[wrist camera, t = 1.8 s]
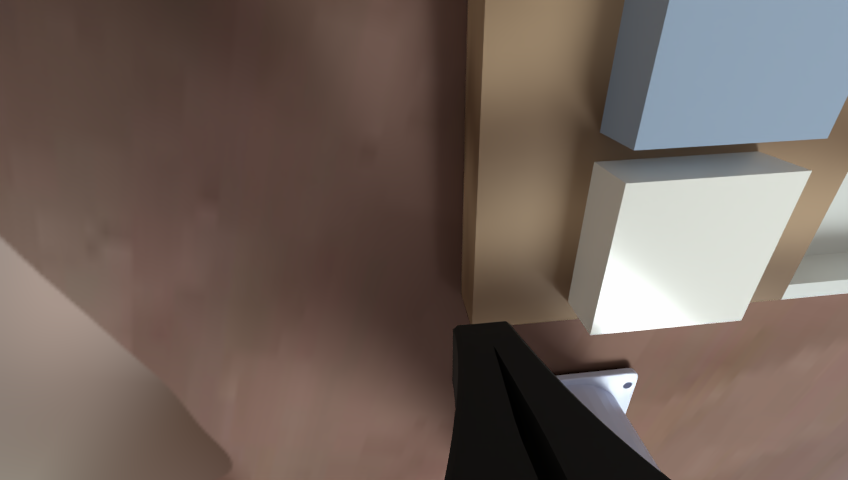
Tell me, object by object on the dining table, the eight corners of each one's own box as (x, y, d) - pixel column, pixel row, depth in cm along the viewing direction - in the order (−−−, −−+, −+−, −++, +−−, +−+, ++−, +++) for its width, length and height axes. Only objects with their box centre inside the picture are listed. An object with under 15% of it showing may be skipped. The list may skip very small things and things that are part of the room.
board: (739, 269, 20) (781, 299, 18) (461, 293, 19) (471, 329, 17) (912, -131, 12) (1020, -160, 10) (470, -128, 11) (491, -159, 9)
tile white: (703, 289, 17) (741, 320, 15) (567, 301, 17) (590, 335, 15) (758, 151, 14) (811, 170, 12) (594, 162, 14) (626, 183, 12)
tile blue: (769, 122, 14) (827, 138, 12) (599, 132, 13) (633, 150, 11) (860, -108, 11) (955, -132, 9) (644, -106, 10) (699, -130, 8)
